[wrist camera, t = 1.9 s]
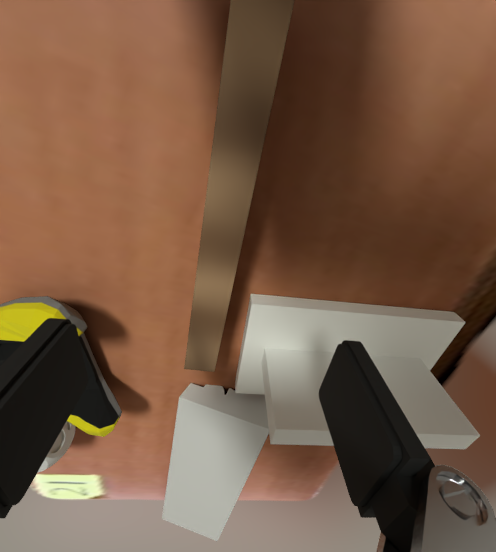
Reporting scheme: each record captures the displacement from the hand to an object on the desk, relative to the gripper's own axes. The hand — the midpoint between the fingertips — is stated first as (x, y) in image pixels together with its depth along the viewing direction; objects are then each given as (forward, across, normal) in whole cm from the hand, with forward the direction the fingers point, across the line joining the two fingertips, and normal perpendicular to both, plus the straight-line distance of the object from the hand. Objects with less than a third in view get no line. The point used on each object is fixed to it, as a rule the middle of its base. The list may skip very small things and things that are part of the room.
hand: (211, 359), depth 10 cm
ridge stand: (+12, -13, +11) cm, 21 cm away
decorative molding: (+14, -1, +35) cm, 38 cm away
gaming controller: (+13, +14, +13) cm, 23 cm away
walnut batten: (+12, 0, -1) cm, 13 cm away
